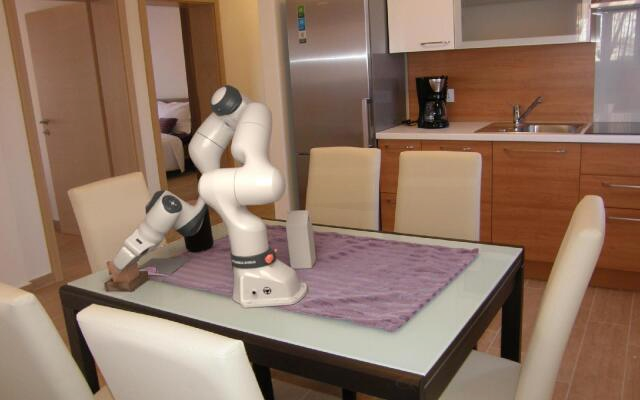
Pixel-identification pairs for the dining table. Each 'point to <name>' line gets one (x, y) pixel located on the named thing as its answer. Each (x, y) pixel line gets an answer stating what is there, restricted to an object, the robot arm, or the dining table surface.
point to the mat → (165, 264)
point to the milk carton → (300, 239)
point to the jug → (123, 272)
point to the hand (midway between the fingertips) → (126, 266)
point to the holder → (127, 283)
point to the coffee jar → (200, 234)
